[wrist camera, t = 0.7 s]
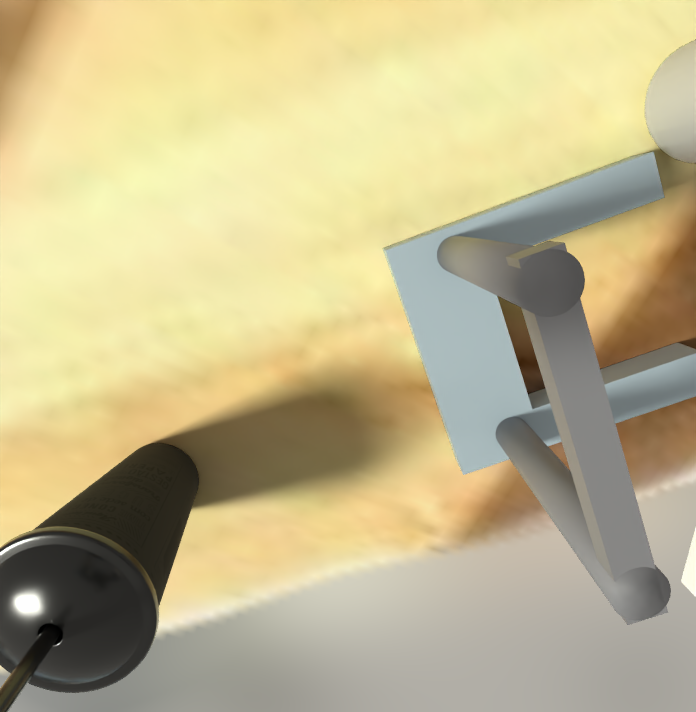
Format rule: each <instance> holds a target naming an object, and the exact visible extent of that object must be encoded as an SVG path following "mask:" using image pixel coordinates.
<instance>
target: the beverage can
mask: <svg viewBox="0 0 696 712" xmlns="http://www.w3.org/2000/svg"><path fill="white" fill-rule="evenodd" d="M645 119H646V124H647V127H648V130H649V133H650V135H651V137H652V138H653V140H654V141H655V143H656V144H657V145H658V147H659V148H660V149H661V150H662V151H664V152H665V153H666V154H667V155H669V156H671V157H673V158H675V159H677V160H680V161H683V162H688V163H696V39H695V40H693V41H691V42H689V43H687V44H685V45H684V46H682V47H680V48H679V49H677V50H676V51H674V52H673V53H672V54H670V55H669V56H668V57H667V58H666V59H665V60H664V61H663V62H662V64H661V65H660V66H659V68H658V69H657V71H656V72H655V74H654V76H653V77H652V79H651V82H650V84H649V87H648V90H647V94H646V99H645Z"/></svg>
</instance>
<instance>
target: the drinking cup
mask: <svg viewBox="0 0 696 712" xmlns="http://www.w3.org/2000/svg"><path fill="white" fill-rule="evenodd" d="M198 485H199V477H198V472H197V469H196V467H195V465H194V463H193V461H192V460H191V459H190V457H189V456H188V455H187V454H185V453H184V452H183V451H182V450H180V449H178V448H176V447H174V446H171V445H167V444H150V445H146V446H143V447H141V448H139V449H138V450H136V451H135V452H134V453H132V454H131V455H130V456H128V457H127V458H126V459H124V460H123V461H122V462H121V463H119V464H118V465H117V466H115V467H114V468H113V469H111V470H110V471H109V472H108V473H106V474H105V475H104V476H102V477H101V478H100V479H98V480H97V481H96V482H95V483H93V484H92V485H91V486H89V487H88V488H87V489H86V490H84V491H83V492H82V493H80V494H79V495H78V496H76V497H75V498H74V499H73V500H71V501H70V502H69V503H67V504H66V505H65V506H63V507H62V508H61V509H60V510H58V511H57V512H56V513H54V514H53V515H52V516H50V517H49V518H48V519H47V520H45V521H44V522H43V523H41V524H40V525H39V526H38V527H36V528H35V529H34V530H32V531H29V532H26V533H24V534H21V535H19V536H17V537H15V538H13V539H11V540H10V541H8V542H7V543H5V544H4V545H3V546H2V547H0V665H1V666H2V667H3V668H4V669H6V670H7V671H8V672H10V673H11V674H10V676H9V677H8V678H7V680H6V681H5V683H4V684H3V685H2V687H1V688H0V712H8V711H9V709H10V708H11V707H12V705H13V704H14V702H15V701H16V699H17V698H18V696H19V695H20V693H21V692H22V690H23V689H24V688H25V686H26V685H27V683H29V684H31V685H34V686H37V687H40V688H43V689H47V690H51V691H57V692H65V693H79V692H88V691H94V690H98V689H101V688H104V687H107V686H109V685H112V684H114V683H116V682H118V681H119V680H121V679H123V678H124V677H126V676H127V675H128V674H130V673H131V672H132V671H133V670H134V669H135V668H137V667H138V665H139V664H140V663H141V662H142V661H143V659H144V658H145V657H146V655H147V653H148V651H149V650H150V648H151V646H152V643H153V641H154V638H155V636H156V632H157V628H158V622H159V605H160V602H161V599H162V596H163V593H164V590H165V587H166V584H167V581H168V578H169V574H170V571H171V568H172V565H173V562H174V559H175V556H176V553H177V550H178V547H179V544H180V541H181V538H182V535H183V532H184V529H185V526H186V523H187V520H188V517H189V514H190V511H191V508H192V505H193V502H194V499H195V496H196V493H197V490H198Z"/></svg>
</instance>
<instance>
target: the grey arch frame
mask: <svg viewBox="0 0 696 712" xmlns="http://www.w3.org/2000/svg"><path fill="white" fill-rule="evenodd" d="M662 198H665V197H664V193H663V189H662V184H661V180H660V176H659V172H658V168H657V163H656V159H655V155H654V152H649V153H645V154H640V155H636V156H631V157H629V158H626V159H623V160H621V161H618V162H615V163H612V164H610V165H607V166H604V167H602V168H599V169H596V170H593V171H591V172H588V173H585V174H583V175H580V176H577V177H575V178H572V179H569V180H566V181H564V182H561V183H558V184H556V185H553V186H550V187H547V188H545V189H542V190H539V191H537V192H534V193H531V194H528V195H526V196H523V197H520V198H518V199H515V200H512V201H510V202H507V203H504V204H501V205H499V206H496V207H493V208H491V209H488V210H485V211H482V212H480V213H477V214H474V215H472V216H469V217H466V218H464V219H461V220H458V221H455V222H453V223H450V224H447V225H445V226H442V227H439V228H436V229H434V230H431V231H428V232H426V233H423V234H420V235H417V236H415V237H412V238H409V239H407V240H404V241H401V242H399V243H396V244H393V245H390V246H388V247H385V248H383V251H384V253H385V256H386V259H387V262H388V265H389V268H390V271H391V274H392V277H393V279H394V282H395V285H396V288H397V291H398V294H399V297H400V300H401V302H402V305H403V308H404V311H405V314H406V317H407V320H408V323H409V325H410V328H411V331H412V334H413V337H414V340H415V343H416V346H417V349H418V351H419V354H420V357H421V360H422V363H423V366H424V369H425V372H426V374H427V377H428V380H429V383H430V386H431V389H432V392H433V395H434V398H435V400H436V403H437V406H438V409H439V412H440V415H441V418H442V421H443V423H444V426H445V429H446V432H447V435H448V438H449V441H450V444H451V447H452V449H453V452H454V455H455V458H456V460H457V462H458V465H459V467H460V469H461V471H462V473H463V475H464V474H467V473H470V472H473V471H476V470H479V469H482V468H485V467H488V466H491V465H494V464H497V463H500V462H503V461H506V460H509V459H510V460H511V462H512V463H513V465H514V466H515V467H516V469H517V470H518V472H519V473H520V475H521V476H522V477H523V479H524V480H525V482H526V483H527V485H528V486H529V488H530V489H531V490H532V492H533V493H534V495H535V496H536V498H537V499H538V500H539V502H540V503H541V505H542V506H543V508H544V509H545V511H546V512H547V513H548V515H549V516H550V518H551V519H552V521H553V522H554V523H555V525H556V526H557V528H558V529H559V531H560V532H561V533H562V535H563V536H564V538H565V539H566V541H567V542H568V543H569V545H570V546H571V548H572V549H573V550H574V552H575V553H576V555H577V556H578V558H579V559H580V561H581V562H582V564H583V565H584V566H585V568H586V569H587V571H588V572H589V574H590V575H591V577H592V578H593V579H594V581H595V582H596V584H597V585H598V586H599V588H600V589H601V591H602V592H603V594H604V595H605V597H606V598H607V599H608V601H609V602H610V604H611V605H612V606H613V608H614V610H615V611H616V612H617V613H618V614H619V615H621V617H622V618H623V619H624V621H625V622H626V624H627V625H629V624H633V623H636V622H639V621H642V620H645V619H648V618H652V617H655V616H658V615H661V614H664V613H667V612H668V611H667V607H666V605H667V603H668V601H669V598H670V592H671V589H670V584H669V581H668V579H667V578H666V577H665V575H664V574H663V573H662V572H661V571H660V570H659V569H658V568H657V567H656V565H655V564H654V561H653V557H652V554H651V550H650V546H649V543H648V539H647V536H646V532H645V529H644V525H643V521H642V518H641V514H640V511H639V507H638V503H637V500H636V496H635V493H634V489H633V486H632V482H631V478H630V475H629V471H628V468H627V464H626V461H625V457H624V453H623V450H622V446H621V443H620V439H619V436H618V432H617V428H616V425H615V423H618V422H621V421H624V420H627V419H630V418H633V417H636V416H639V415H642V414H645V413H648V412H650V411H653V410H656V409H659V408H662V407H665V406H668V405H671V404H674V403H677V402H680V401H683V400H686V399H689V398H692V397H695V396H696V349H694V348H691V347H688V346H686V345H683V344H680V343H675V344H672V345H669V346H666V347H663V348H660V349H657V350H655V351H652V352H649V353H646V354H643V355H640V356H637V357H634V358H631V359H628V360H626V361H623V362H620V363H617V364H614V365H611V366H608V367H605V368H602V369H600V368H599V364H598V360H597V357H596V353H595V350H594V346H593V343H592V339H591V335H590V332H589V328H588V325H587V321H586V318H585V314H584V310H583V307H582V303H581V300H580V297H581V295H582V292H583V289H584V283H585V278H584V272H583V269H582V267H581V265H580V263H579V262H578V260H577V259H576V258H575V257H574V256H573V255H571V254H570V253H568V252H567V250H566V246H565V243H563V242H553V241H547V242H545V243H542V244H539V245H536V246H533V245H535V244H538V243H541V242H544V241H546V240H549V239H552V238H555V237H557V236H560V235H563V234H566V233H568V232H571V231H574V230H577V229H579V228H582V227H585V226H588V225H590V224H593V223H596V222H599V221H601V220H604V219H607V218H610V217H612V216H615V215H618V214H621V213H623V212H626V211H629V210H632V209H634V208H637V207H640V206H643V205H645V204H648V203H651V202H654V201H656V200H659V199H662ZM497 296H499V297H501V298H503V299H505V300H507V301H509V302H511V303H513V304H515V305H517V306H519V307H521V309H522V312H523V315H524V319H525V322H526V325H527V329H528V332H529V335H530V339H531V342H532V345H533V348H534V352H535V355H536V358H537V362H538V365H539V368H540V372H541V375H542V378H543V381H544V385H545V389H542V390H539V391H536V392H533V393H530V394H528V393H527V390H526V387H525V384H524V380H523V377H522V374H521V371H520V368H519V364H518V361H517V358H516V355H515V351H514V348H513V345H512V342H511V339H510V335H509V332H508V329H507V326H506V323H505V319H504V316H503V313H502V310H501V306H500V303H499V300H498V297H497ZM559 442H562V444H563V447H564V451H565V454H566V457H567V461H568V464H569V467H570V470H569V469H568V468H567V467H566V466H565V465H564V464H563V463H562V461H561V460H560V459H559V458H558V457H557V456H556V455H555V454H554V453H553V452H552V450H551V449H550V448H549V447H548V446H550V445H553V444H556V443H559Z"/></svg>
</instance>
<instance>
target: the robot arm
mask: <svg viewBox="0 0 696 712" xmlns="http://www.w3.org/2000/svg"><path fill="white" fill-rule="evenodd" d="M681 582H682V583H683V584H684V585H685V586H686V587H687V588H688V589H689V590H690V591H691V592H692V593H693V595H694V596H695V597H696V528H695V532H694V536H693V539H692V543H691V547H690V550H689V554H688V558H687V561H686V565H685V569H684V573H683V576H682V580H681Z"/></svg>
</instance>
